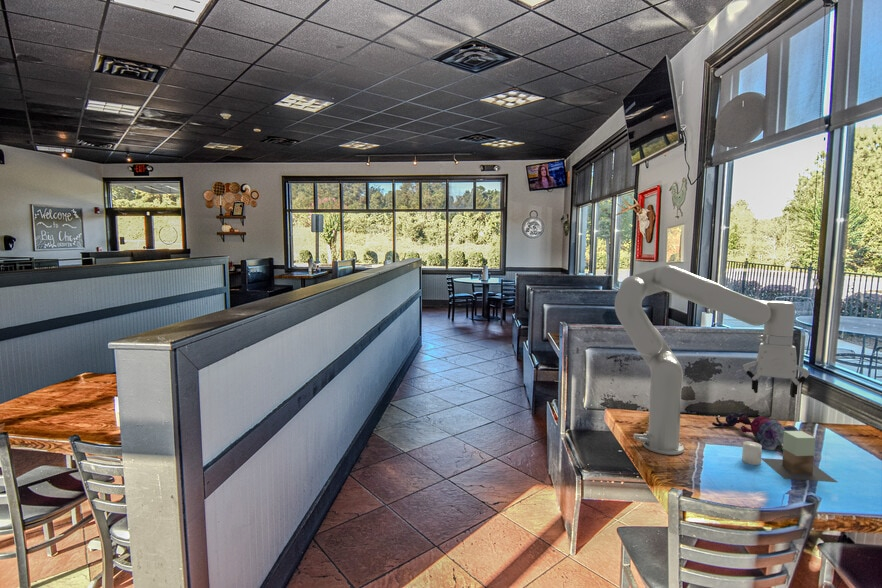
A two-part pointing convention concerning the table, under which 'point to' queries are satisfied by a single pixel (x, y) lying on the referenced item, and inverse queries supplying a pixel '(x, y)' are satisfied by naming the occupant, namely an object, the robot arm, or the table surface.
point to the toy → (759, 429)
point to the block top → (799, 443)
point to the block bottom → (798, 463)
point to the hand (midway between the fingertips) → (773, 394)
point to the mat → (786, 474)
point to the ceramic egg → (751, 453)
